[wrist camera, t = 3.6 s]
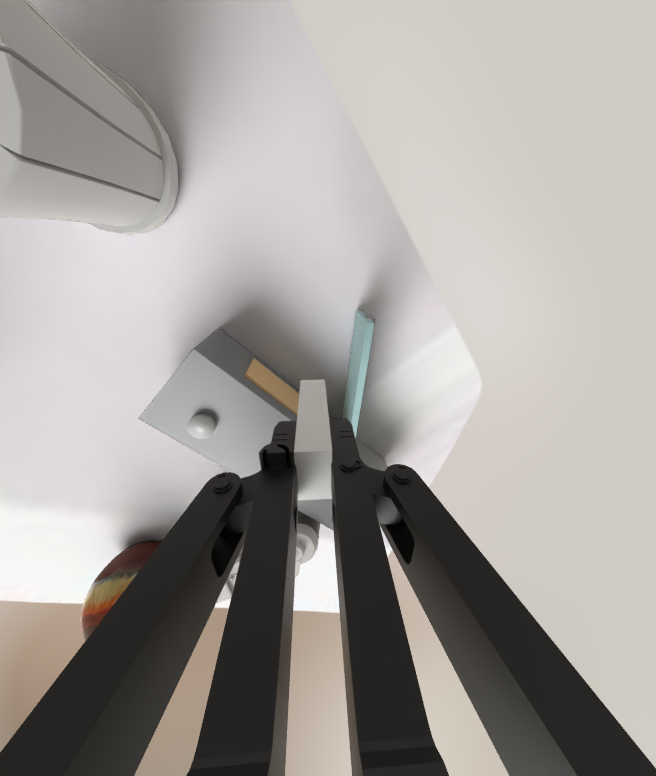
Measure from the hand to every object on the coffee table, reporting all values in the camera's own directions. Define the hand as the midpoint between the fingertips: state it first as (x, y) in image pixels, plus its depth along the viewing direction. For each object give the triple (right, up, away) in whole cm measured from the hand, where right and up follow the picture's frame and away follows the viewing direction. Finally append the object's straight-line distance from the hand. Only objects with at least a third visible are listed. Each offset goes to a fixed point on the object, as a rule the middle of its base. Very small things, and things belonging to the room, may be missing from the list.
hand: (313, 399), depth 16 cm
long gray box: (-3, -4, +13) cm, 14 cm away
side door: (+3, +2, +10) cm, 11 cm away
